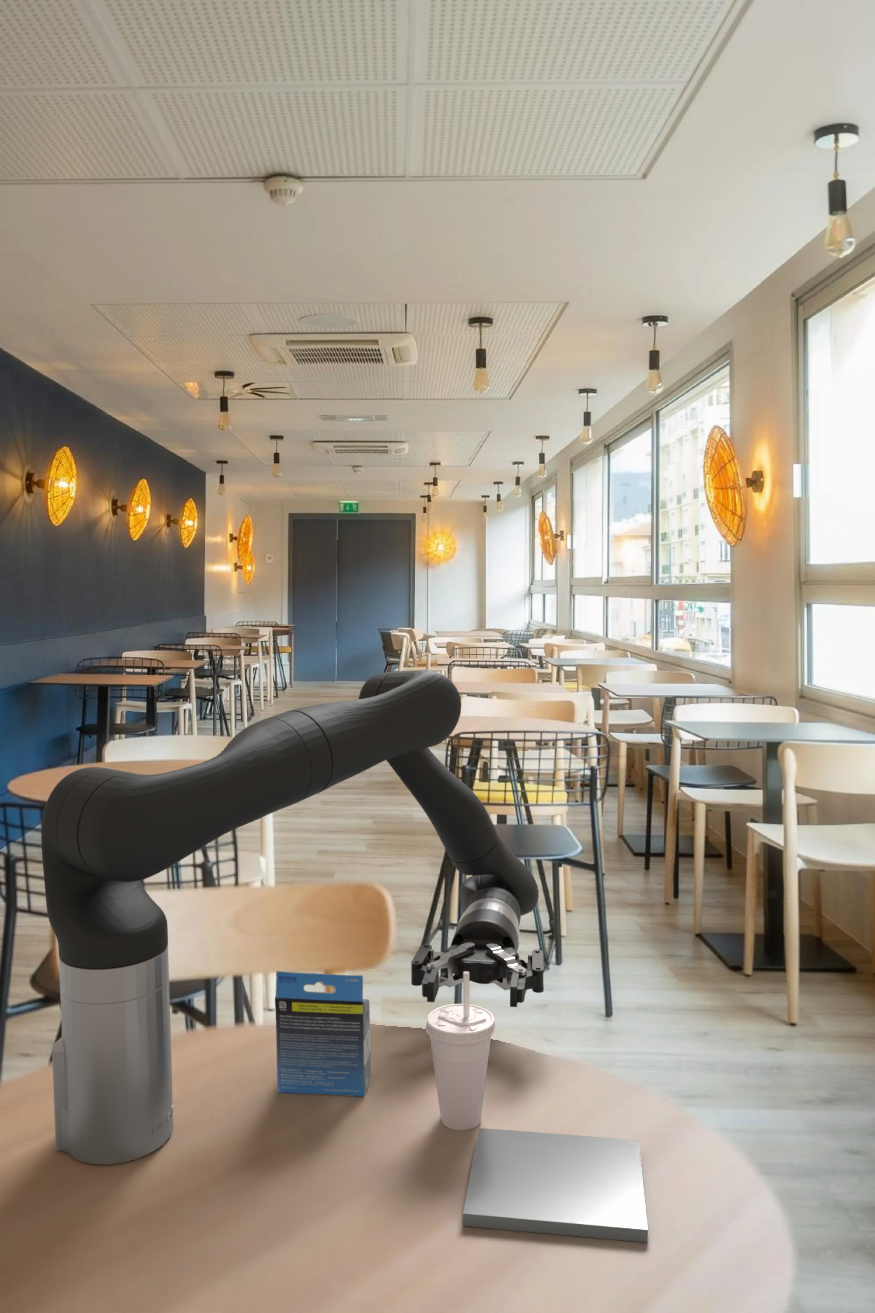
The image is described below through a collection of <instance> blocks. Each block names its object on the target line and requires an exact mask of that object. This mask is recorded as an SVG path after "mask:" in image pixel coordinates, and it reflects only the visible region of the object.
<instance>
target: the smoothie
mask: <svg viewBox="0 0 875 1313" xmlns="http://www.w3.org/2000/svg"><path fill="white" fill-rule="evenodd" d="M462 988H463V989H462V990H463V991H462V992H463V995H462V998H463V1000H462V1001H463V1003H452V1004H446V1005H445V1004H444V1005H442V1006H438V1007H436V1008H434V1009H432V1010H431V1011H430V1012H429V1013H428V1014H427V1015H426V1023H425V1030H426V1033H427V1034H428V1035H429V1037H430V1044H431V1045H430V1046H431V1053H432V1062H433V1069H434V1070H433V1071H434V1077H435V1083H436V1091H437V1099H438V1105H439V1116H440V1122H441V1123H442V1124H443V1125H444V1126H445V1127H447V1128H449V1129H451V1130H456V1131H467V1130H471V1129H474V1128H476V1127H477V1126H478V1125H479V1124H481V1121H482V1113H483V1105H484V1104H483V1103H484V1097H485V1096H484V1095H485V1089H486V1088H485V1087H486V1081H487V1072H488V1063H489V1057H490V1056H489V1055H490V1049H491V1048H490V1047H491V1042H492V1041H491V1040H492V1036H493V1034H494V1033H495V1031H496V1025H495V1020H496V1019H495V1018H496V1017H495V1016H494V1014H493V1013H492V1012H491V1011H490V1010H488V1009H487V1008H484V1007H482V1006H480V1005H474V1004H471V1003H470V982H469V972H468V971H465V972H463V982H462Z"/></svg>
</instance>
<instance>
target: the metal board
mask: <svg viewBox="0 0 875 1313" xmlns="http://www.w3.org/2000/svg"><path fill="white" fill-rule="evenodd" d="M477 1130H478V1131H477V1136H476V1142H475V1148H474V1153H473V1158H472V1162H471V1168H470V1173H469V1177H468V1178H469V1180H468V1184H467V1190H466V1193H465V1194H466V1195H465V1199H464V1205H463V1212H462V1227H472V1228H480V1229H481V1228H482V1229H494V1230H505V1231H516V1232H528V1233H538V1234H549V1235H550V1234H551V1235H560V1236H571V1237H583V1238H593V1239H604V1240H615V1241H627V1242H636V1243H637V1242H640V1243H648V1242H649V1241H648V1240H649V1237H648V1236H649V1228H648V1218H647V1209H646V1198H645V1189H644V1188H645V1187H644V1178H643V1170H642V1159H641V1158H642V1157H641V1149H640V1140H639V1139H630V1138H617V1137H616V1138H615V1137H607V1136H606V1137H603V1136H592V1135H591V1136H589V1135H580V1134H579V1135H578V1134H577V1135H575V1134H565V1133H564V1134H562V1133H552V1132H551V1133H550V1132H536V1131H524V1130H509V1129H498V1128H497V1129H496V1128H485V1127H484V1128H483V1127H478V1129H477Z"/></svg>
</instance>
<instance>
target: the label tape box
mask: <svg viewBox="0 0 875 1313" xmlns="http://www.w3.org/2000/svg"><path fill="white" fill-rule="evenodd" d="M317 983H319V984H321V985H322V987H331V988H333V991H332V992H328V991H327V992H325V991H308V990H306V989H305V986H315V985H316V984H317ZM363 991H364V976H363V975H361V974H360V975H357V974H356V975H355V974H353V975H351V974H335V973H334V974H333V973H331V974H330V973H329V974H328V973H318V972H317V973H316V972H315V973H314V972H293V971H282V970H276V971H275V996H274V997H275V998H274V1007H275V1037H276V1039H275V1040H276V1041H275V1042H276V1079H277V1080H276V1082H277V1083H276V1084H277V1085H276V1086H277V1092H278V1093H279V1094H296V1095H297V1094H298V1095H299V1094H300V1095H302V1094H303V1095H334V1096H351V1097H353V1096H354V1097H355V1096H356V1097H366V1095H367V1093H368V1092H367V1091H368V1087H369V1085H370V1081H371V1076H372V1060H371V1059H372V1055H371V1053H372V1052H371V1050H372V1049H371V1048H372V1047H371V1045H372V1044H371V1019H370V1018H371V1013H370V1012H371V1011H370V1007H371V1006H370V1000H369V998H367V999H364V998H363V997H364V996H363V995H364V994H363V993H364V992H363Z"/></svg>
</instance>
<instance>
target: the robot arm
mask: <svg viewBox="0 0 875 1313" xmlns="http://www.w3.org/2000/svg"><path fill="white" fill-rule="evenodd" d="M461 713H462V698H461V696H460V692H459V689H458V688H457V686H456V685H455V684H454V682H453V681H452V680H451V679H449V677H447V676H446V675H444V674H443V673H440V672H437V671H434V670H430V669H429V670H427V669H418V670H417V669H415V670H398V671H387V672H381V673H377V674H374V675H372V676H371V677H370V678H368V679H367V680H366V681H365V682H364V684H363V685H362V687H361V690H360V692H359V696H358V699H351V700H349V699H348V700H339V701H332V702H331V701H330V702H324V703H318V704H313V705H307V706H304V707H299V708H294V709H290V710H287V711H284V712H281V713H278V714H276V715H272V716H270V717H267V718H264V719H261V720H259V721H257V722H254V723H251V724H250V725H248V726H246V727H244V728H243V729H242V730H241V731H240V732H238V733H237V734H236V735H234V737H233V738H231V740H230V741H229V742H228V744H226V746H225V747H224V749H223V750H222V751H220V753H218V754H217V755H216V756H214V757H212V758H209V759H207V760H205V761H203V762H200V763H196V764H192V765H190V766H185V767H183V768H179V769H175V770H171V771H167V772H162V773H157V774H156V773H155V774H154V773H153V774H143V773H135V772H129V771H124V770H119V769H113V768H106V767H98V766H91V767H83V768H80V769H76V770H75V771H72V772H70V773H68V774H67V775H66V776H64V777H63V778H61V780H60V781H58V783H56V785H55V786H54V788H53V789H52V791H51V793H50V794H49V796H48V798H47V801H46V804H45V806H44V810H43V815H42V820H41V832H40V833H41V835H40V838H41V840H40V842H41V846H40V847H41V857H42V858H41V860H42V871H43V882H44V884H43V885H44V893H45V905H46V906H45V907H46V913H47V918H48V921H49V925H50V926H51V929H52V932H53V933H54V935H55V937H56V941H57V945H58V948H57V949H58V968H59V970H58V972H59V990H60V992H59V995H60V1020H61V1022H60V1023H61V1037H60V1038H59V1039H58V1040H56V1042H54V1044H53V1045H52V1047H51V1053H52V1054H51V1058H52V1059H51V1060H52V1061H51V1062H52V1080H53V1081H52V1082H53V1083H52V1084H53V1110H54V1111H53V1112H54V1113H53V1114H54V1134H55V1135H54V1137H55V1140H54V1141H55V1142H54V1143H55V1151H64V1152H66V1153H68V1154H69V1155H70V1156H71V1157H72V1158H73V1159H75V1160H77V1161H79V1162H82V1163H87V1164H90V1165H92V1164H93V1165H114V1164H120V1163H121V1164H122V1163H127V1162H129V1161H132V1160H133V1161H134V1160H137V1159H139V1158H142V1157H144V1156H147V1155H149V1154H150V1153H152V1152H154V1151H156V1150H157V1149H159V1148H160V1147H162V1146H163V1145H164V1144H165V1143H166V1142H167V1141H168V1140H169V1139H170V1137H171V1136H172V1133H173V1129H174V1102H173V1101H174V1100H173V1069H172V1068H173V1067H172V1065H173V1064H172V1035H171V1034H172V1033H171V1029H172V1028H171V1005H170V1004H171V1002H170V998H171V996H170V971H169V968H170V966H169V930H168V929H169V928H168V920H167V916H166V914H165V912H164V911H163V909H162V908H161V907H160V905H158V903H156V902H155V900H153V899H152V897H151V896H150V895H149V893H148V892H147V891H146V889H145V887H144V885H143V883H142V880H146V879H148V878H151V877H153V876H156V875H157V874H159V873H161V872H164V871H165V870H167V869H168V868H170V867H172V866H174V865H176V864H177V863H179V862H180V861H182V860H183V859H185V858H188V856H191V855H192V854H193V853H195V852H197V851H198V850H200V849H202V848H203V847H205V846H207V845H208V844H211V843H212V842H213V841H215V840H217V839H218V838H221V837H222V836H224V835H226V834H228V833H230V832H231V831H233V830H236V829H238V828H240V827H243V826H246V825H248V824H250V823H252V822H255V821H257V820H259V819H262V818H265V817H266V816H268V815H271V814H273V813H275V812H277V811H279V810H282V809H286V808H287V807H290V806H293V805H294V804H298V803H300V802H301V801H302V802H303V801H305V800H306V799H309V798H311V797H312V796H315V795H317V794H318V795H319V794H320V793H321V792H325V791H326V790H328V789H329V788H332V787H333V786H336V785H337V784H340V783H342V782H344V781H346V780H349V779H351V778H352V777H355V776H357V775H359V774H361V773H363V772H365V771H367V770H369V769H371V768H373V767H375V766H376V765H379V764H380V763H383V762H385V761H386V762H387V763H388V765H389V766H390V767H391V769H392V770H393V771H394V772H395V774H396V776H398V778H399V779H400V780H401V782H402V783H403V784H404V786H405V788H407V790H408V791H409V792H410V794H411V795H412V796H413V797H414V798H415V800H416V802H417V803H418V804H419V806H420V808H422V810H423V812H424V813H425V814H426V816H427V818H428V819H429V821H430V823H431V825H432V826H433V828H434V830H435V831H436V834H437V835H438V837H439V840H440V841H441V843H442V845H443V847H444V849H445V851H446V852H447V855H448V856H449V859H450V861H451V862H452V865H453V866H454V868H455V869H456V870H457V871H458V872H459V873H461V874H462V875H465V876H469V877H467V878H466V879H464V881H462V883H461V884H460V886H459V889H458V898H459V902H460V907H461V910H462V912H463V913H462V915H461V917H460V918H459V921H458V924H457V927H456V929H455V931H454V935H453V938H452V941H451V943H450V946H448V947H447V948H445V949H444V951H435V950H434V949H432V948H433V947H432V946H433V945H431V944H429V943H424V944H421V945H420V947H418V948H419V949H418V950H417V952H416V954H415V955H414V957H413V958H412V960H411V962H410V963H411V964H410V967H411V968H410V971H411V974H410V979H411V985H412V986H414V987H420V986H421V996H422V998H426V1002H427V1003H435V1001H436V998H437V995H438V992H439V988H442V987H444V986H446V987H448V988H452V987H455V986H457V985H460V984H463V972H465V971H468V972H469V983H470V982H473V983H475V984H482V985H489V984H495V985H496V986H498V987H499V988H501V989H503V990H504V991H508V990H509V1007H510V1008H517V1007H518V1004H519V1003H520V1004H522V1003H524V1001H525V998H526V994H527V991H528V990H532V992H534V993H537V994H540V993H544V991H545V990H544V989H545V984H544V983H545V982H544V973H545V966H544V964H545V963H544V951H543V950H541V949H532V951H531V953H529V954H528V955H527V956H523V955H520V954H519V953H518V949H519V946H520V932H521V931H520V924H521V918H522V916H525V915H527V914H529V913H531V912H532V911H534V909H535V908H536V907H537V904H538V901H539V897H540V893H539V892H540V891H539V887H538V884H537V881H536V879H535V877H534V875H533V874H532V872H531V871H530V870H529V868H528V867H527V866H526V865H525V864H524V863H523V862H522V861H521V860H520V859H519V857H518V856H516V855H515V853H514V852H512V851H511V850H510V849H509V848H508V846H507V845H506V844H505V843H504V842H503V840H502V839H501V837H500V836H499V833H498V831H497V829H496V828H495V825H494V823H493V821H492V819H491V817H490V814H489V813H488V810H487V809H486V807H485V806H484V804H483V802H482V801H481V799H479V797H478V796H477V794H475V792H474V791H473V790H472V789H471V788H469V787H468V785H466V784H465V783H464V782H463V781H462V780H461V779H460V778H458V777H457V775H455V774H454V773H453V772H451V771H450V770H449V769H448V768H447V767H446V766H445V765H444V764H443V763H442V762H441V761H440V759H439V758H438V757H437V756H436V755H435V754H434V753H433V751H431V750H430V748H431V747H434V746H437V745H439V744H441V743H443V742H444V741H445V740H447V739H448V738H449V737H450V735H451V734H453V732H454V730H455V729H456V727H457V725H458V723H459V720H460V718H461V717H460V716H461ZM439 970H440V974H439Z"/></svg>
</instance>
